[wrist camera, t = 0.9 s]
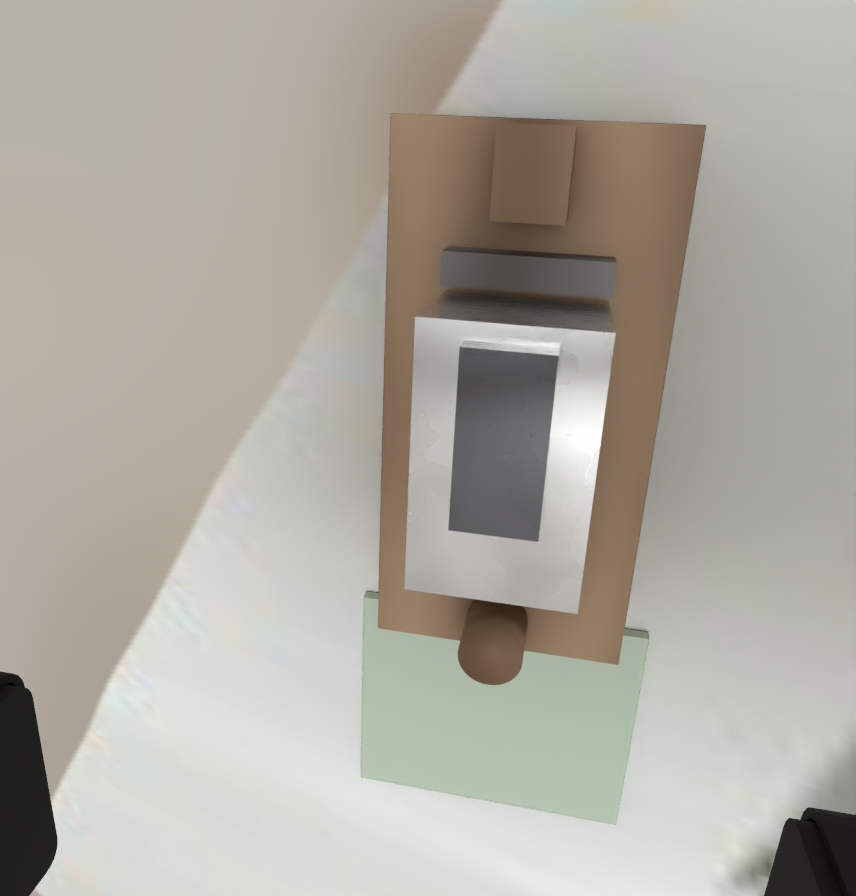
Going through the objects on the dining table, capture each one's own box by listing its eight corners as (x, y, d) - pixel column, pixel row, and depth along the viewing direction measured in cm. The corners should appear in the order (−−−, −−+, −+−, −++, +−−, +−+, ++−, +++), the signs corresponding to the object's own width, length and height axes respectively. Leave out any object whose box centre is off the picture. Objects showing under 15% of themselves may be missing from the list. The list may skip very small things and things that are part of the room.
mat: (648, 632, 31) (649, 639, 30) (615, 816, 34) (616, 825, 34) (367, 591, 33) (363, 597, 32) (363, 769, 36) (360, 777, 36)
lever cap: (609, 300, 23) (617, 339, 18) (578, 534, 26) (577, 629, 20) (447, 288, 24) (408, 322, 18) (435, 516, 26) (397, 603, 21)
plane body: (687, 132, 24) (725, 118, 18) (614, 606, 31) (622, 721, 24) (417, 121, 26) (363, 104, 19) (401, 576, 32) (355, 677, 26)
